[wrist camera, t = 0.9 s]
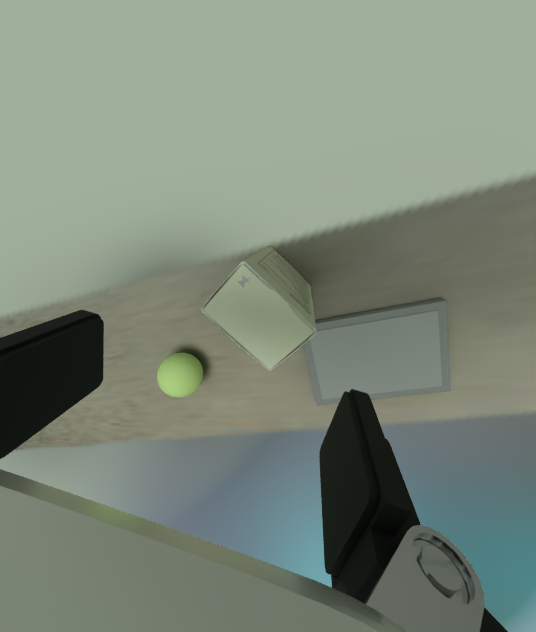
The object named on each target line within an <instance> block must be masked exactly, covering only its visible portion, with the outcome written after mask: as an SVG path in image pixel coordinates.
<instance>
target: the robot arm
mask: <svg viewBox="0 0 536 632" xmlns="http://www.w3.org/2000/svg"><path fill="white" fill-rule="evenodd" d="M103 334H104V323H103V320H101V317H100V316H99V315H98V314H95V313H92V312H88V311H85V310H79V311H76V312H73V313H71V314H68V315H65V316H62V317H59V318H56V319H53V320H50V321H48V322H45V323H42V324H39V325H36V326H33V327H30V328H28V329H25V330H22V331H19V332H16V333H13V334H10V335H7V336H5V337H2V338H0V459H1V458H3V457H5V456H6V455H8V454H9V453H10V452H12V451H13V450H14V449H16V448H17V447H18V446H20V445H21V444H22V443H24V442H25V441H27V440H28V439H29V438H31V437H32V436H33V435H35V434H36V433H37V432H39V431H40V430H41V429H43V428H44V427H45V426H47V425H48V424H49V423H51V422H52V421H53V420H55V419H56V418H57V417H59V416H60V415H61V414H63V413H64V412H65V411H67V410H68V409H69V408H71V407H72V406H74V405H75V404H76V403H78V402H79V401H80V400H82V399H83V398H84V397H86V396H87V395H88V394H90V393H91V392H92V391H94V390H95V389H96V388H98V387H99V386H100V384H101V383H102V380H103ZM320 477H321V498H322V518H323V537H324V559H325V569H326V572H327V573H328V574H331V577H332V588H331V587H328V586H326V585H324V584H322V583H319V582H317V581H315V580H312V579H309V578H307V577H304V576H301V575H299V574H296V573H293V572H291V571H288V570H285V569H283V568H280V567H277V566H275V565H272V564H269V563H267V562H264V561H261V560H258V559H256V558H253V557H251V556H248V555H245V554H243V553H240V552H237V551H234V550H231V549H228V548H226V547H223V546H220V545H217V544H214V543H211V542H209V541H205V540H203V539H200V538H197V537H194V536H192V535H189V534H186V533H183V532H180V531H177V530H174V529H172V528H169V527H166V526H163V525H160V524H157V523H155V522H152V521H149V520H146V519H143V518H140V517H137V516H134V515H132V514H129V513H126V512H123V511H120V510H117V509H114V508H111V507H109V506H106V505H103V504H100V503H97V502H94V501H91V500H88V499H85V498H83V497H80V496H77V495H73V494H71V493H68V492H65V491H62V490H59V489H56V488H54V487H51V486H48V485H45V484H42V483H39V482H36V481H33V480H30V479H27V478H24V477H22V476H19V475H16V474H13V473H10V472H6V471H4V470H0V632H507V630H505V628H504V627H503V626H502V625H501V624H500V623H499V622H498V621H497V620H496V619H495V618H494V617H493V616H492V615H491V614H490V613H489V612H488V611H487V610H486V609H485V607H484V592H483V589H482V586H481V583H480V580H479V578H478V576H477V574H476V573H475V571H474V569H473V567H472V565H471V564H470V563H469V561H468V560H467V559H466V557H465V556H464V555H463V553H462V552H461V551H460V550H459V549H458V548H457V547H456V546H455V545H454V544H453V543H452V542H451V541H450V540H449V539H447V538H446V537H445V536H443V535H442V534H441V533H439V532H437V531H436V530H434V529H432V528H430V527H426V526H422V525H421V524H420V522H419V519H418V517H417V514H416V511H415V509H414V506H413V503H412V501H411V498H410V496H409V493H408V490H407V488H406V485H405V482H404V480H403V477H402V474H401V472H400V469H399V467H398V464H397V462H396V459H395V456H394V454H393V451H392V448H391V446H390V444H389V442H388V440H387V439H385V437H384V434H383V432H382V429H381V426H380V423H379V421H378V418H377V415H376V412H375V410H374V407H373V404H372V402H371V399H370V396H369V394H368V393H365V392H361V391H358V390H354V389H351V390H350V391H349V392H347V391H345V392H344V393H343V395H342V398H341V400H340V402H339V405H338V407H337V410H336V412H335V414H334V417H333V419H332V422H331V424H330V426H329V429H328V431H327V434H326V436H325V438H324V441H323V444H322V446H321V449H320Z"/></svg>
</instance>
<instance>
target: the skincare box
mask: <svg viewBox="0 0 536 632" xmlns="http://www.w3.org/2000/svg"><path fill="white" fill-rule="evenodd" d="M201 311H202V312H203V313H204V314H205V315H206V316H207V317H208V318H209V319H210V320H211V321H212V322H213V323H214V324H215V325H216V326H217V327H218V328H220V329H221V331H223V332H224V333H225V334H226V335H227V336H228V337H230V338H231V339H232V340H233V341H234V342H235V343H236V344H237V345H239V346H240V347H241V348H242V349H243V350H244V351H245V352H247V353H248V354H249V355H250V356H251V357H253V358H254V359H255V360H256V361H257V362H258V363H260V364H261V365H262V366H263V367H265V368H266V369H267V370H268V371H271V370H273V369H274V368H275V367H276V366H277V365H279V364H280V363H282V362H283V361H284V360H285V359H287V358H288V357H289V356H291V355H292V354H293V353H294V352H295V351H297V350H298V349H299V348H300V347H302V346H303V345H304V344H305V343H306V342H308V341H309V340H310V339H311V338H312V337H314V336H315V335H316V333H317V330H316V323H315V316H314V308H313V300H312V293H311V286H310V285H309V283H308V282H307V281H306V280H305V279H304V278H303V277H302V276H301V275H300V274H299V273H298V272H297V271H296V270H295V269H294V268H293V267H292V266H291V265H290V264H289V263H288V262H287V261H286V260H285V259H284V258H283V257H282V256H281V255H280V254H278V253H277V252H276V251H275V250H274V249H273V248H272V247H271V246H268V247H266V248H264V249H263V250H261V251H259V252H258V253H256V254H254V255H253V256H251V257H249V258H248V259H246V260H244V261H242V262H241V263H240V264H239V265H238V266H237V267H236V269H235V270H234V271H233V272H232V273H231V274H230V275H229V276H228V277H227V278H226V279H225V280H224V282H223V283H222V284H221V285H220V286H219V287H218V288H217V289H216V291H215V292H214V293H213V294H212V295H211V296H210V298H209V299H208V300H207V301H206V303H205V304H204V305H203V306H202V308H201Z"/></svg>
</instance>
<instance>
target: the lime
mask: <svg viewBox="0 0 536 632" xmlns="http://www.w3.org/2000/svg"><path fill="white" fill-rule="evenodd" d="M202 378H203V368H202V365H201V363H200V362H199V360H198V359H197V358H196V357H194V356H193V355H191V354H188V353H176V354H173V355H170V356H169V357H167V358H166V359H165V360H164V361H163V362H162V363H161V365H160V367H159V369H158V373H157V380H158V384H159V386H160V388H161V389H162V390H163V391H164V392H165V393H166V394H168V395H170V396H173V397H184V396H187V395H189V394H191V393H193V392H194V391H195V390H196V389H197V388H198V387H199V385H200V384H201V381H202Z"/></svg>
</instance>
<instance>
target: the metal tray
mask: <svg viewBox="0 0 536 632" xmlns="http://www.w3.org/2000/svg"><path fill="white" fill-rule="evenodd" d="M315 323H316V330H317V333H316V335H315V336H314V337H312V338H311V339H310V340H309V341H308V342H306V343H305V344H304V350H305V354H306V359H307V363H308V368H309V372H310V377H311V381H312V385H313V390H314V394H315V399H316V403H317V405H325V404H335V403H339V402H340V400H341V398H342V395H343V393H344V392H345V391H347V392H349V391H350V390H351V389H354V390H358V391H361V392H365V393H368V394H369V396H370V399H371V400H372V399H381V398H390V397H399V396H409V395H418V394H427V393H436V392H446V391H451V388H450V367H449V347H448V326H447V306H446V300H444V299H442V298H438V299H433V300H427V301H421V302H416V303H410V304H405V305H399V306H394V307H388V308H383V309H377V310H372V311H366V312H361V313H355V314H349V315H344V316H338V317H333V318H327V319H322V320H316V321H315Z"/></svg>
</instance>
